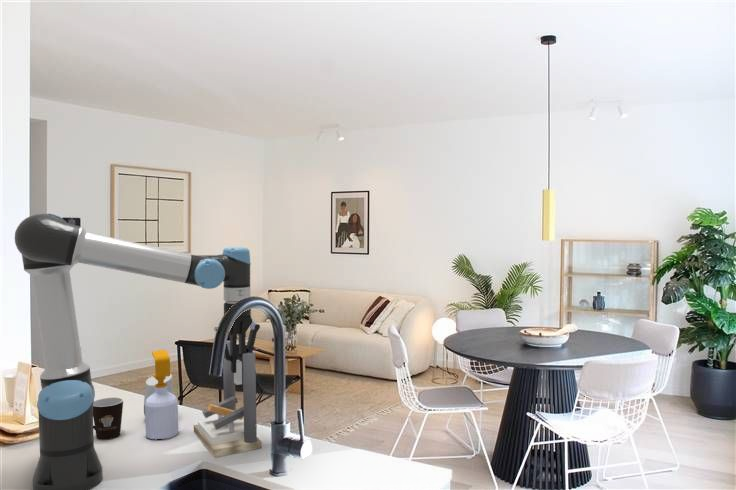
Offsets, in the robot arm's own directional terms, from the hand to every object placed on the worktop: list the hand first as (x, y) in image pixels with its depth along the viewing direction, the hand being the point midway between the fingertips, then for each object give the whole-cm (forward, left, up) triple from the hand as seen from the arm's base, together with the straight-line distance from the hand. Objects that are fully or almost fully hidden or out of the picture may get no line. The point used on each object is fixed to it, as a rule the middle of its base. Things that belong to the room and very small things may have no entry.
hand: (238, 383), depth 176 cm
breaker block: (-4, 0, -14) cm, 14 cm away
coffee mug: (-34, +21, -16) cm, 43 cm away
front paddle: (-4, -6, -8) cm, 10 cm away
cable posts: (0, 0, -14) cm, 14 cm away
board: (-4, 0, -16) cm, 16 cm away
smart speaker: (-17, +27, -16) cm, 36 cm away
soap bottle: (-19, +13, -16) cm, 28 cm away
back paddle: (-4, +5, -8) cm, 10 cm away
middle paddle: (-4, 0, -8) cm, 9 cm away
